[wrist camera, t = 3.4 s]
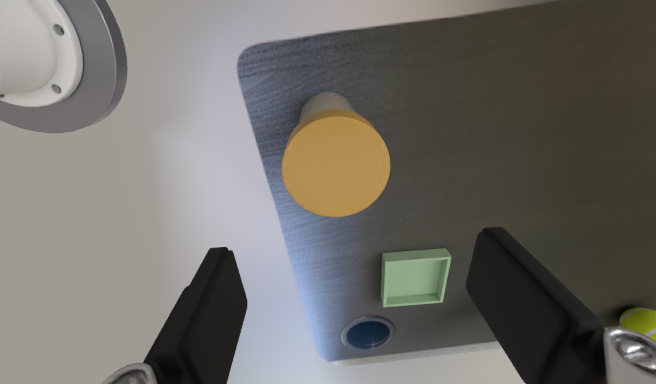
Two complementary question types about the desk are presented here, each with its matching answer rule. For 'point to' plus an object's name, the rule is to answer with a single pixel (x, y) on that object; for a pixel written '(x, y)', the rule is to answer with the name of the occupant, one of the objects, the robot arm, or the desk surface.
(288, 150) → the lid
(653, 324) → the tennis ball
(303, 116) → the jar
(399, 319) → the desk surface
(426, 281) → the tray
